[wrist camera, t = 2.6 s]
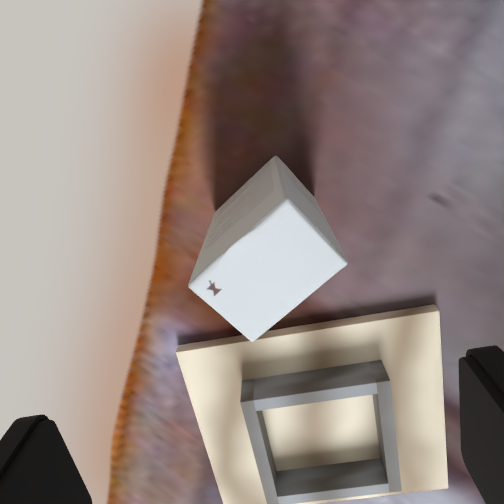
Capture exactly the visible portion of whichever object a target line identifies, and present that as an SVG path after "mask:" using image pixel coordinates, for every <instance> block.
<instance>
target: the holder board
mask: <svg viewBox="0 0 504 504" xmlns="http://www.w3.org/2000/svg"><path fill="white" fill-rule="evenodd" d="M176 354H177V358H178V361H179V364H180V367H181V370H182V373H183V377H184V380H185V383H186V386H187V389H188V393H189V396H190V399H191V402H192V405H193V408H194V412H195V415H196V418H197V421H198V424H199V427H200V431H201V434H202V437H203V440H204V443H205V447H206V450H207V453H208V456H209V459H210V462H211V466H212V469H213V472H214V475H215V478H216V482H217V485H218V488H219V491H220V494H221V497H222V501H223V504H318V503H327V502H335V501H344V500H352V499H361V498H369V497H377V496H386V495H394V494H403V493H411V492H420V491H428V490H437V489H445V488H448V475H447V455H446V436H445V416H444V396H443V376H442V356H441V337H440V317H439V310H438V309H437V307H436V306H435V305H434V304H433V305H427V306H421V307H414V308H408V309H402V310H396V311H389V312H383V313H377V314H371V315H364V316H358V317H352V318H346V319H339V320H333V321H327V322H321V323H314V324H308V325H302V326H296V327H289V328H283V329H277V330H271V331H266V332H265V333H263V334H262V335H261V336H260V337H258V338H257V339H256V340H255V341H252V342H251V341H250V340H249V339H248V338H247V337H245V336H244V335H239V336H233V337H227V338H221V339H214V340H208V341H202V342H196V343H189V344H183V345H178V348H177V351H176Z"/></svg>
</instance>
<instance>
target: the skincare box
mask: <svg viewBox="0 0 504 504" xmlns="http://www.w3.org/2000/svg"><path fill="white" fill-rule="evenodd" d="M347 264H348V261H347V259H346V257H345V255H344V253H343V251H342V249H341V247H340V245H339V244H338V242H337V239H336V238H335V236H334V234H333V232H332V230H331V228H330V226H329V224H328V222H327V220H326V219H325V216H324V215H323V213H322V211H321V209H320V207H319V205H318V203H317V201H316V199H315V197H314V196H313V195H312V194H311V193H310V192H309V191H308V190H307V189H306V187H305V186H304V185H303V184H302V183H301V182H300V181H299V180H298V178H297V177H296V176H295V175H294V174H293V173H292V172H291V171H290V169H289V168H288V167H287V166H286V165H285V164H284V163H283V162H282V161H281V159H280V158H279V157H278V156H274V157H273V158H271V159H270V160H269V161H268V162H267V163H266V164H265V165H264V166H263V167H262V168H261V169H260V170H259V171H258V172H257V173H256V174H255V175H254V176H252V177H251V178H250V179H249V180H248V181H247V182H246V183H245V184H244V185H243V186H242V187H241V188H240V189H239V190H238V191H237V192H236V193H235V194H233V195H232V196H231V197H230V198H229V199H228V200H227V201H226V202H225V203H224V204H223V205H222V206H221V207H220V208H219V209H218V210H217V211H216V212H215V213H214V215H213V218H212V221H211V223H210V226H209V229H208V232H207V235H206V238H205V240H204V243H203V246H202V248H201V251H200V254H199V257H198V260H197V262H196V265H195V267H194V270H193V273H192V276H191V279H190V282H189V285H188V286H189V288H190V289H191V290H192V291H194V292H195V293H196V294H197V295H198V296H199V297H201V298H202V299H203V300H204V301H205V302H206V303H208V304H209V305H210V306H211V307H212V308H213V309H215V310H216V311H217V312H218V313H219V314H220V315H222V316H223V317H224V318H225V319H226V320H227V321H228V322H229V323H231V324H232V325H233V326H234V327H235V328H236V329H237V330H238V331H239V332H241V333H242V334H243V335H244V336H245V337H247V338H248V339H249V340H250V341H251V342H252V341H255V340H256V339H257V338H258V337H260V336H261V335H262V334H263V333H265V332H266V331H267V330H268V329H269V328H271V327H272V326H273V325H274V324H276V323H277V322H278V321H279V320H280V319H282V318H283V317H284V316H285V315H286V314H288V313H289V312H290V311H291V310H293V309H294V308H295V307H296V306H297V305H298V304H300V303H301V302H302V301H303V300H304V299H306V298H307V297H308V296H309V295H310V294H312V293H313V292H314V291H315V290H316V289H318V288H319V287H320V286H321V285H322V284H324V283H325V282H326V281H327V280H328V279H330V278H331V277H332V276H333V275H335V274H336V273H337V272H338V271H339V270H341V269H342V268H343V267H345V266H346V265H347Z"/></svg>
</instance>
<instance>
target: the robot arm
mask: <svg viewBox="0 0 504 504" xmlns="http://www.w3.org/2000/svg"><path fill="white" fill-rule="evenodd" d="M459 393H460V429H461V452H462V457H463V460H464V463H465V465H466V467H467V469H468V471H469V473H470V475H471V477H472V479H473V481H474V483H475V484H476V486H477V488H478V490H479V492H480V494H481V496H482V498H483V499H484V501H485V503H486V504H504V352H503V351H502V350H501V349H500V348H499V347H498V346H495V345H494V346H488V347H481V348H474V349H469V350H467V352H466V357H462V358H460V359H459ZM0 504H92V499H91V496H90V494H89V492H88V490H87V488H86V486H85V484H84V482H83V480H82V478H81V476H80V474H79V471H78V469H77V467H76V465H75V463H74V461H73V459H72V457H71V455H70V453H69V451H68V449H67V446H66V444H65V442H64V440H63V438H62V436H61V434H60V432H59V430H58V428H57V426H56V424H55V422H54V421H52V420H49V419H48V417H47V416H45V415H36V416H29V417H23V418H19V419H17V420H15V421H14V422H13V424H12V425H11V426H10V428H9V429H8V430H7V432H6V433H5V435H4V436H3V437H2V439H1V440H0Z"/></svg>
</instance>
